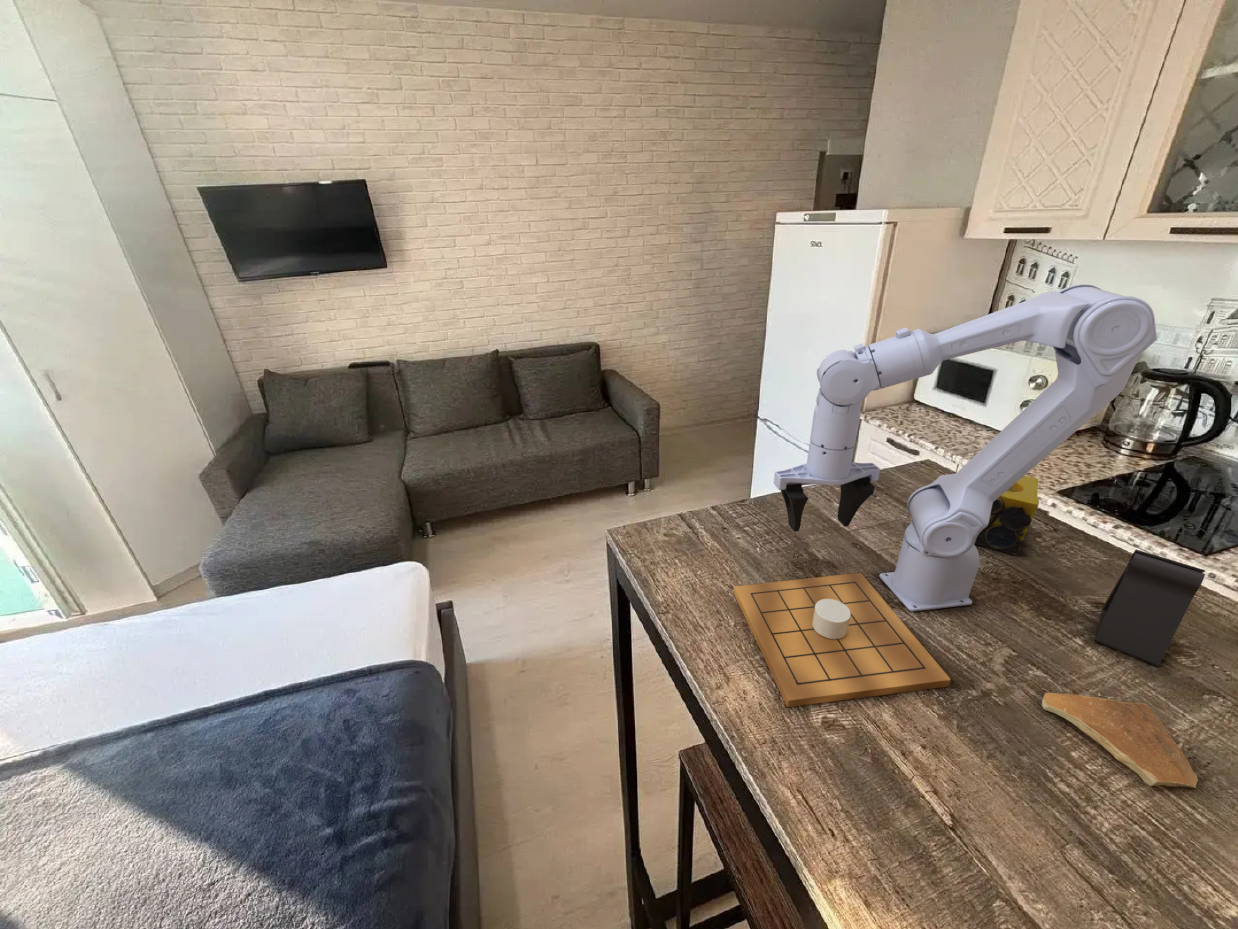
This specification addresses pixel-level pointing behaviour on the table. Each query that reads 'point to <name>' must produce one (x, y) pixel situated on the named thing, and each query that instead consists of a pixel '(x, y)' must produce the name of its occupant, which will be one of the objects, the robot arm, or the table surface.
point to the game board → (835, 642)
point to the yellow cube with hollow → (1011, 517)
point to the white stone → (831, 618)
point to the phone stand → (1147, 606)
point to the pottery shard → (1127, 736)
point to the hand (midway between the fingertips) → (818, 525)
